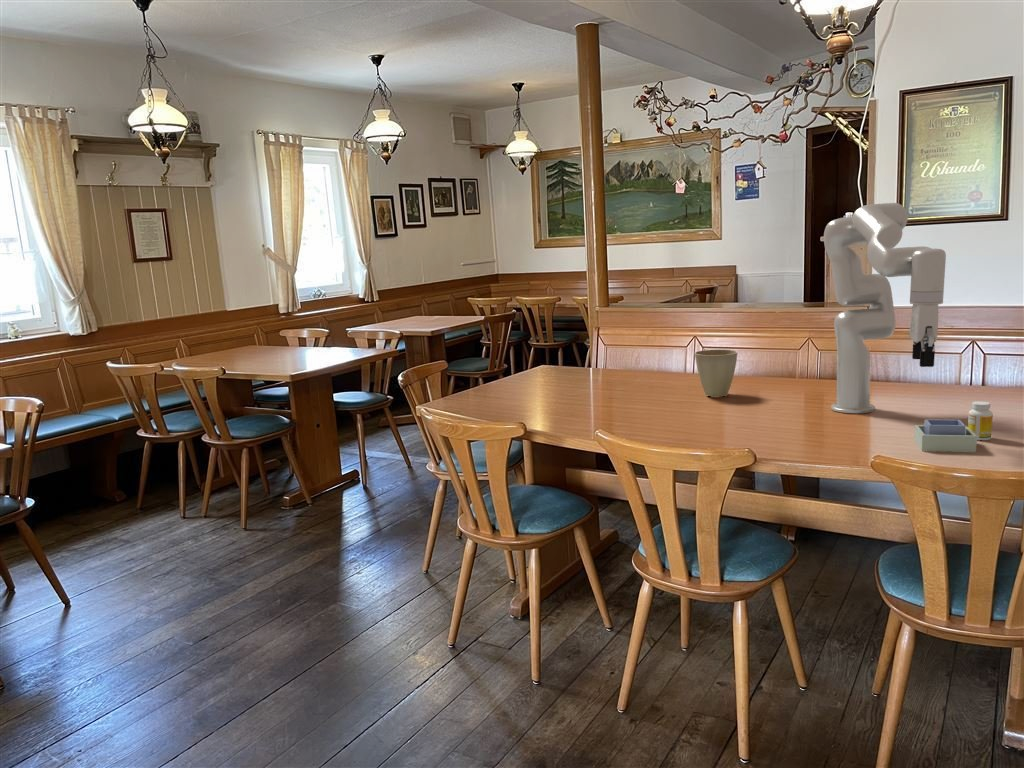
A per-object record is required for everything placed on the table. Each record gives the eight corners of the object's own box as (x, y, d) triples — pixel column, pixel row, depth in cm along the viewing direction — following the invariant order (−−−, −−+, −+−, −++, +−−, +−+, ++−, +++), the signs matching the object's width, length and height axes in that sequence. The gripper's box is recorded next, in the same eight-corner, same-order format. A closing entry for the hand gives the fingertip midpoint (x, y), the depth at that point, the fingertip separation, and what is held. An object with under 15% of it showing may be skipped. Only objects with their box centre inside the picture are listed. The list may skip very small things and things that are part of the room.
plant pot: (743, 398, 260) (742, 353, 258) (700, 401, 261) (699, 356, 258) (731, 390, 275) (731, 347, 272) (691, 392, 276) (690, 350, 273)
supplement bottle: (965, 439, 195) (966, 403, 194) (969, 434, 199) (971, 399, 197) (988, 441, 192) (990, 405, 190) (993, 437, 195) (995, 401, 194)
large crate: (914, 441, 197) (914, 425, 197) (965, 442, 194) (966, 426, 193) (921, 452, 188) (922, 435, 187) (975, 453, 184) (976, 436, 183)
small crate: (923, 441, 195) (924, 419, 194) (958, 442, 192) (959, 419, 191) (928, 448, 189) (929, 425, 188) (964, 448, 187) (965, 425, 185)
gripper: (904, 294, 199) (900, 356, 203) (916, 302, 183) (913, 369, 187) (935, 293, 197) (931, 356, 201) (951, 301, 181) (946, 369, 185)
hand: (922, 362), depth 194 cm, fingers open, 9 cm apart
